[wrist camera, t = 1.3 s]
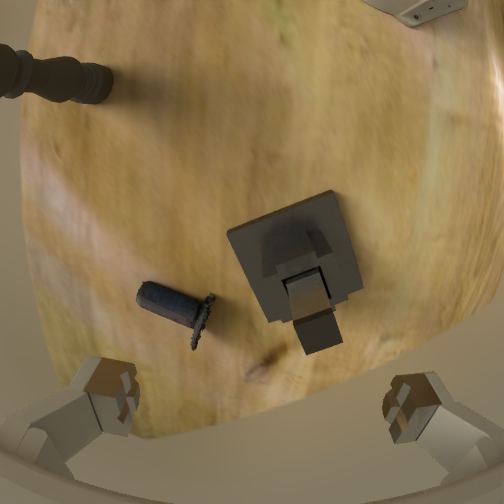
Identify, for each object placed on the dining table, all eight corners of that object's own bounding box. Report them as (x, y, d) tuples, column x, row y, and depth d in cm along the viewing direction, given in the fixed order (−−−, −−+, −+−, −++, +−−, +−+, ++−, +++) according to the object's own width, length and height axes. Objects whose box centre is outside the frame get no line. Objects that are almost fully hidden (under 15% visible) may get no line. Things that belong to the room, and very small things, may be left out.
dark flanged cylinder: (218, 290, 53) (151, 265, 52) (213, 306, 45) (135, 277, 44) (202, 336, 54) (138, 312, 53) (195, 358, 47) (123, 330, 46)
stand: (330, 189, 44) (349, 207, 35) (360, 281, 50) (379, 315, 41) (227, 230, 47) (220, 257, 38) (268, 316, 52) (270, 355, 43)
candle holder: (117, 93, 39) (-1, 81, 16) (83, 110, 40) (-40, 118, 17) (107, 58, 37) (-8, 25, 14) (74, 76, 38) (-47, 64, 15)
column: (309, 245, 45) (334, 310, 30) (318, 270, 47) (344, 342, 31) (280, 256, 46) (291, 326, 30) (291, 281, 47) (305, 356, 32)
